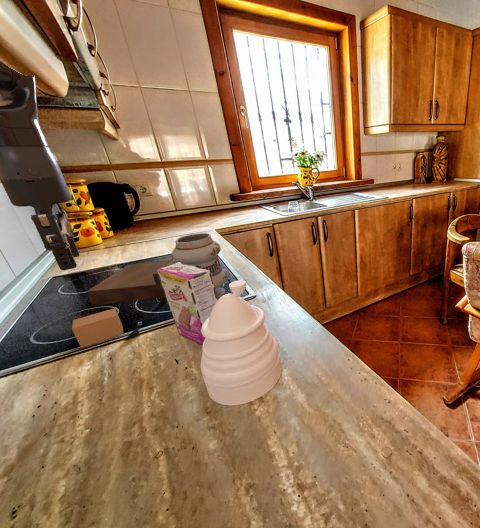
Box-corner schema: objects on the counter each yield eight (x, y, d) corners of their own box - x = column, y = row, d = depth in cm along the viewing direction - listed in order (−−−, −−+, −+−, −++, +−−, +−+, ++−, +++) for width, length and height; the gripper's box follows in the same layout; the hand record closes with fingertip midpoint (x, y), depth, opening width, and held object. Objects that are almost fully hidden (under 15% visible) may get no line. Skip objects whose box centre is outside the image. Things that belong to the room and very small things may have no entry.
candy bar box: (177, 335, 63) (155, 269, 57) (197, 324, 67) (179, 261, 61) (207, 349, 58) (187, 278, 52) (228, 336, 62) (211, 269, 56)
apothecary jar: (179, 298, 80) (161, 238, 73) (221, 283, 88) (207, 228, 81) (195, 312, 72) (176, 246, 65) (239, 294, 80) (226, 235, 73)
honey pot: (261, 343, 59) (246, 265, 52) (295, 374, 50) (282, 286, 43) (197, 376, 51) (169, 289, 44) (223, 420, 42) (194, 319, 35)
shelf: (94, 311, 75) (81, 281, 71) (134, 280, 93) (125, 255, 90) (167, 303, 77) (157, 273, 74) (192, 274, 96) (185, 250, 92)
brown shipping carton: (81, 356, 57) (68, 330, 55) (82, 345, 61) (70, 320, 58) (139, 335, 63) (130, 311, 61) (138, 327, 67) (128, 303, 64)
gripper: (9, 176, 51) (49, 258, 57) (-14, 179, 40) (37, 279, 46) (66, 173, 55) (97, 250, 61) (57, 175, 45) (95, 267, 51)
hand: (71, 262), depth 54 cm, fingers open, 8 cm apart
